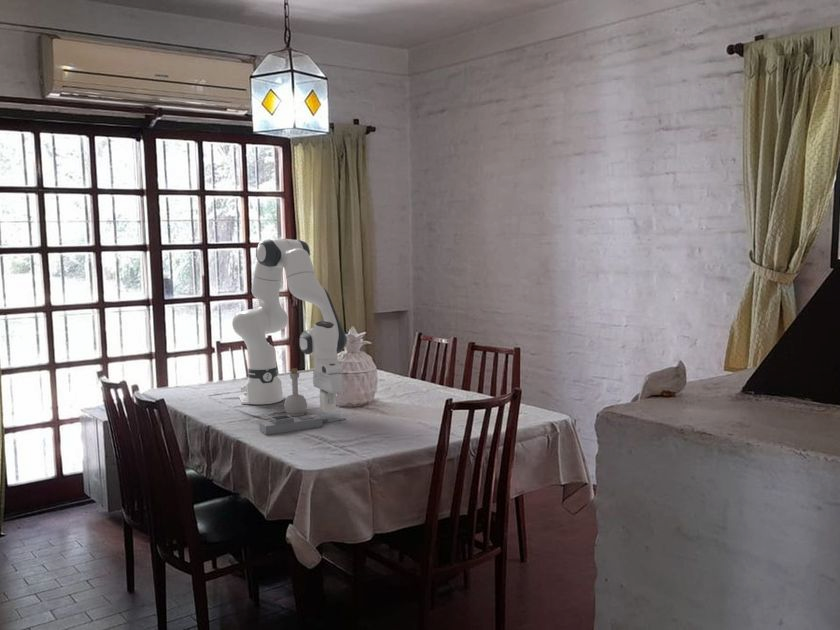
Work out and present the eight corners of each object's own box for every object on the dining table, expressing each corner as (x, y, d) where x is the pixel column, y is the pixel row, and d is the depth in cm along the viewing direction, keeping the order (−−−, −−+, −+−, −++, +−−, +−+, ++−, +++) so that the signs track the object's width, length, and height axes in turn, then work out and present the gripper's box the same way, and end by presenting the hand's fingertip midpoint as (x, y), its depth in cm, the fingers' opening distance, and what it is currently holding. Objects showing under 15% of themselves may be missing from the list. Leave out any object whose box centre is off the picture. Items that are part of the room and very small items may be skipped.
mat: (310, 418, 296) (310, 416, 296) (335, 414, 301) (335, 413, 301) (320, 423, 288) (320, 421, 288) (345, 419, 292) (345, 418, 292)
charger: (320, 410, 295) (319, 391, 294) (331, 408, 297) (330, 390, 296) (324, 412, 291) (324, 393, 290) (336, 410, 293) (335, 391, 292)
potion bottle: (285, 417, 299) (283, 370, 297) (284, 412, 308) (282, 366, 306) (308, 415, 301) (306, 369, 299) (307, 410, 309) (305, 365, 307)
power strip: (259, 430, 279) (259, 418, 279) (324, 421, 291) (324, 409, 291) (265, 434, 273) (265, 422, 273) (331, 424, 285) (331, 412, 284)
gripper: (308, 362, 300) (309, 398, 301) (328, 370, 282) (330, 408, 283) (323, 361, 303) (325, 396, 304) (345, 368, 285) (346, 405, 286)
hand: (327, 402), depth 294 cm, fingers closed on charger, 4 cm apart
